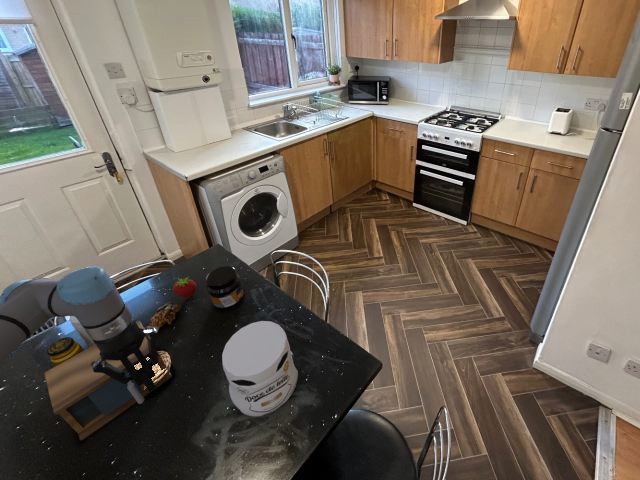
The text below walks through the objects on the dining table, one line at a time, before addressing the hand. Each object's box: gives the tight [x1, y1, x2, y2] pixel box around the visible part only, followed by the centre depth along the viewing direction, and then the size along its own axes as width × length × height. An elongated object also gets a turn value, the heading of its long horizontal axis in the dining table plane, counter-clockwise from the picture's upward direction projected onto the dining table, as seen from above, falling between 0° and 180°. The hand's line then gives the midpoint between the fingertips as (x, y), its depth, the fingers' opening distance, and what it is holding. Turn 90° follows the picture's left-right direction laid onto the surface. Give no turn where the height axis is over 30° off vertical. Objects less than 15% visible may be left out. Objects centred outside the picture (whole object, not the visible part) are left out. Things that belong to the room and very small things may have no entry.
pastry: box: [144, 302, 181, 333], centre depth 103 cm, size 7×12×4 cm, turn 174°
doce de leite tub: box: [221, 320, 299, 417], centre depth 82 cm, size 17×17×18 cm
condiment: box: [46, 336, 86, 367], centre depth 87 cm, size 7×8×12 cm
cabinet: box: [43, 320, 173, 441], centre depth 82 cm, size 14×20×13 cm
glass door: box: [87, 370, 145, 417], centre depth 78 cm, size 6×9×10 cm, turn 140°
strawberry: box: [172, 275, 197, 300], centre depth 111 cm, size 6×8×10 cm
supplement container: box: [205, 265, 245, 311], centre depth 110 cm, size 10×10×12 cm
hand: (151, 386), depth 81 cm, fingers closed
